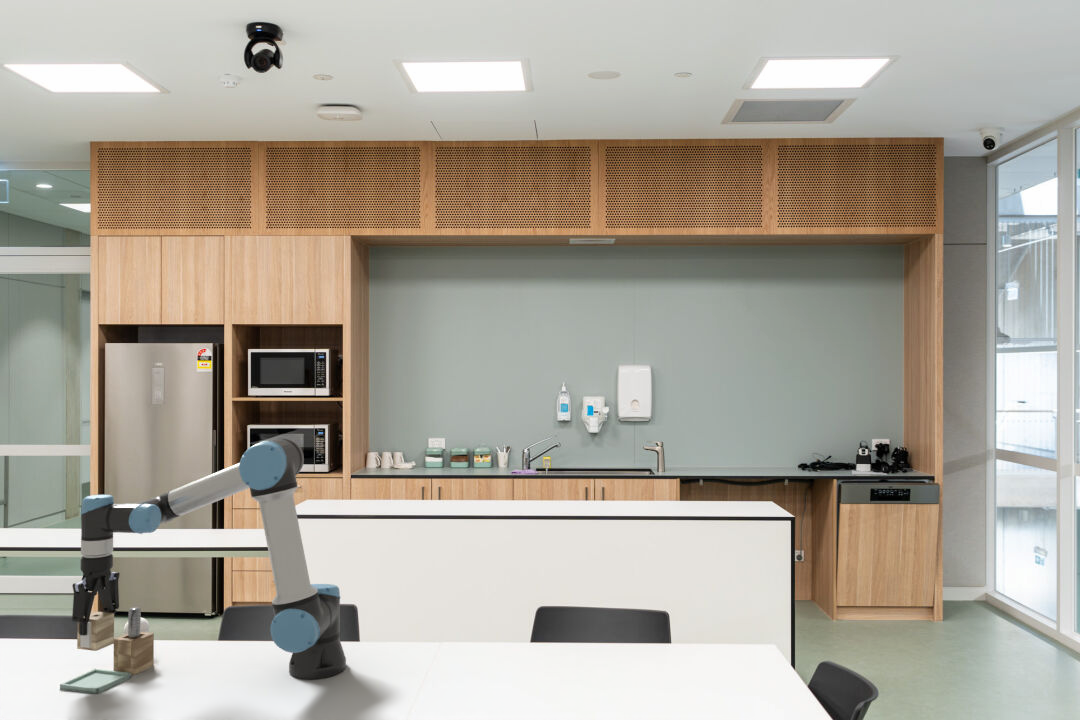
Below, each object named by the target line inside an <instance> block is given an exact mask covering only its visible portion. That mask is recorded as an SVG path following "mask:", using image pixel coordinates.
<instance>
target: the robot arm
mask: <svg viewBox="0 0 1080 720" xmlns="http://www.w3.org/2000/svg"><path fill="white" fill-rule="evenodd" d="M304 456H305V455H304V452H303V449H302V448H301V446H300V445H299V444H298V443H297V442H296V441H294V440H292V439H290V438H286V437H281V438H280V437H279V438H274V439H270V440H264V441H263V440H262V441H261V442H257V443H255V444H254V445H252V446H249V448H247V449H246V451H244V453H243V454H242V456H241V458H240V461H239V462H238V463H236V464H233V465H231V466H228V467H226V468H223V469H221V470H218V471H216V472H214V473H212V474H209V475H207V476H204V477H201V478H199V479H196V480H194V481H192V482H189V483H186V484H183V486H179V487H178V488H177V487H176V488H174V489H172V490H169V491H167V492H164V493H163V494H160V495H157V496H155V497H152V498H148V499H145V500H140V501H138V502H134V503H118V502H117V503H115V498H114V496H113V495H112V494H93V495H92V494H91V495H87V496H85V497H84V498H83V499H82V502H81V511H80V521H81V522H80V525H81V528H80V530H81V531H80V532H81V533H80V555H81V557H80V571H81V572H82V574H83V575H82V578H81V580H80V581H79V582H74V583H73V584H72V589H73V601H72V603H73V604H72V617H71V621H72V623H73V622H74V623H77V622H78V623H79V635H80V647H86V648H90V647H91V622H89V618H90V614H91V613H92V609H93V606H94V601H95V597H96V596H97V595H98V596H99V599H100V604H101V608H102V612H106V613H114V615H115V614H116V613H117V610H118V609H119V608H120V593H119V592H120V591H119V579H120V572H119V571H112V570H111V569H112V568H113V566H114V555H113V552H114V534H115V533H121V534H122V533H123V534H125V533H126V534H140V535H142V534H147V533H148V534H151V533H154V532H156V530H157V529H158V528H160V527H159V526H160V525H161V524H164V523H165V524H166V523H168V522H170V521H172V520H174V519H176V518H179V517H181V516H184V515H186V514H188V513H191V512H193V511H196V510H198V509H201V508H203V507H206V506H209V505H211V504H214V503H216V502H219V501H221V500H223V499H226V498H228V497H230V496H234V495H236V494H238V493H241V492H244V491H245V490H248V489H249V490H250V491H249V492H250V497H251V499H252V500H254V501H255V502H257V503H258V504H259V509H260V515H261V519H262V524H263V530H264V531H263V532H264V534H265V535H264V536H265V541H266V546H267V551H268V556H269V561H270V566H271V571H272V572H271V573H272V576H273V581H274V586H275V593H276V594H275V596H274V597H273V599H272V601H271V604H272V609H273V610H272V611H273V614H274V616H273V619H272V620H271V624H270V629H269V631H270V636H271V638H272V642H274V644H275V645H276V647H278V648H279V649H280V650H282V651H284V652H287V653H291V656H290V660H289V665H288V672H289V674H290V676H292V677H294V678H298V679H303V680H316V679H319V680H320V679H325V678H329V677H334V676H337V675H339V674H341V673H342V672H344V671H345V670H346V668H347V657H346V655H345V651H344V649H343V645H342V643H341V639H340V633H341V632H340V630H341V629H340V628H341V626H340V622H341V621H340V619H341V616H340V615H341V613H340V611H341V605H340V604H341V593H340V592H341V591H340V587H339V586H338V585H336V584H332V583H331V584H328V583H312V584H311V580H310V575H309V571H308V565H307V560H306V555H305V549H304V545H303V539H302V535H301V529H300V525H299V519H298V513H297V509H296V504H295V498H294V494H295V492H296V491H297V489H298V488H299V487H298V482H297V478H296V477H297V475H299V473H300V472H301V470H302V469H303V466H304V463H305V462H304V461H305V458H304ZM84 617H85V618H84Z"/></svg>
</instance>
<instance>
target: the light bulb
mask: <svg viewBox="0 0 1080 720" xmlns="http://www.w3.org/2000/svg"><path fill="white" fill-rule="evenodd" d="M149 631H150V624H149V622H148V620H147V619H146V618H144V617H141V620H140V632H146V633H149ZM127 633H128V621H127V622H126V623H125V625H124V627H123V635H125V634H127Z"/></svg>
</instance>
